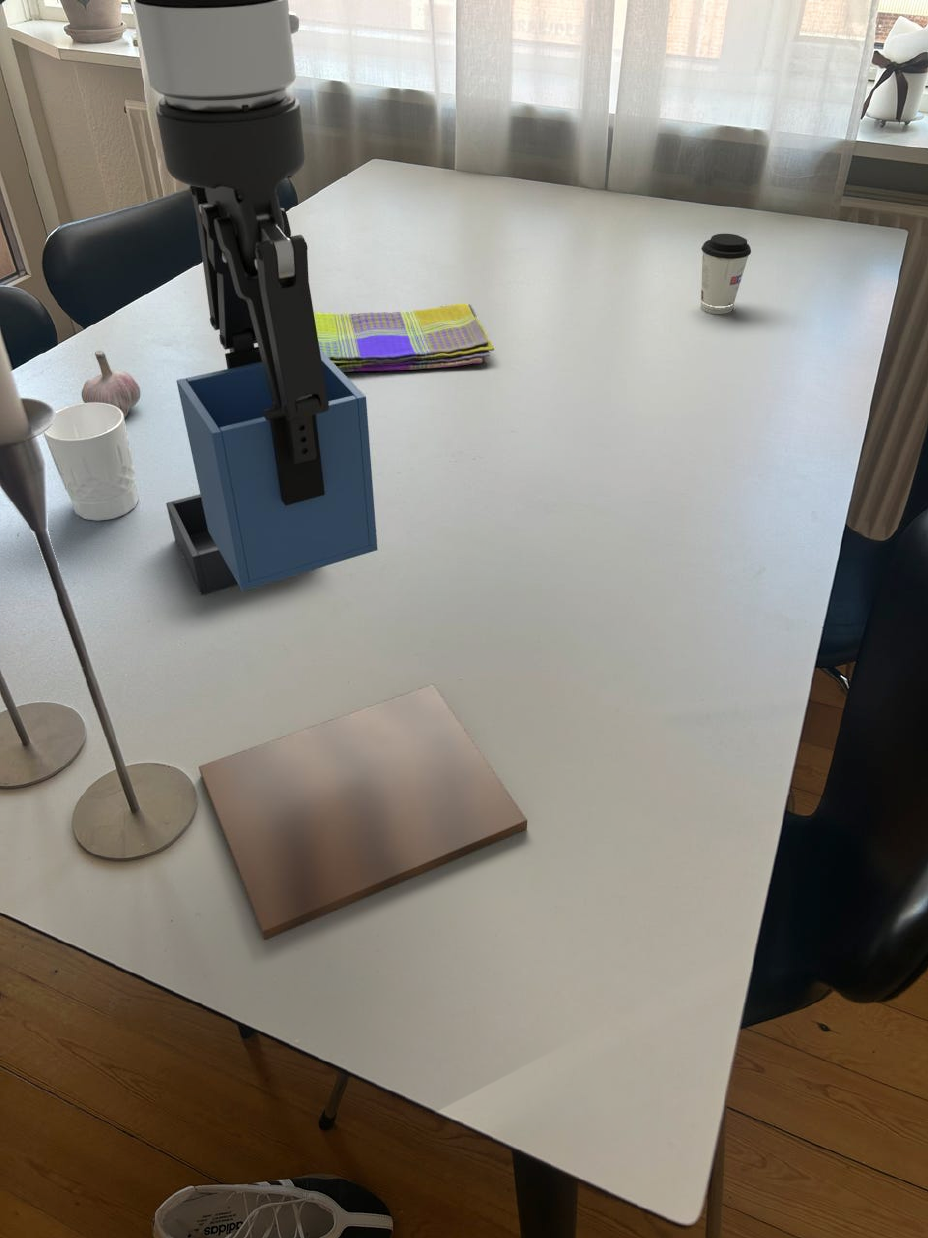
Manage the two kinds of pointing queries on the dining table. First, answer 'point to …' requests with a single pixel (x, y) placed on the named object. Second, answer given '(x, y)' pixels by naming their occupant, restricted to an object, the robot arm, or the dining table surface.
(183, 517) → the charcoal bin
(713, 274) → the coffee cup
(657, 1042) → the dining table surface
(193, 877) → the dining table surface
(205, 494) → the blue bin
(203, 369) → the dining table surface
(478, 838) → the brown wooden flat board
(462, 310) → the dish towel
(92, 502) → the white cup
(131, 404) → the garlic bulb
